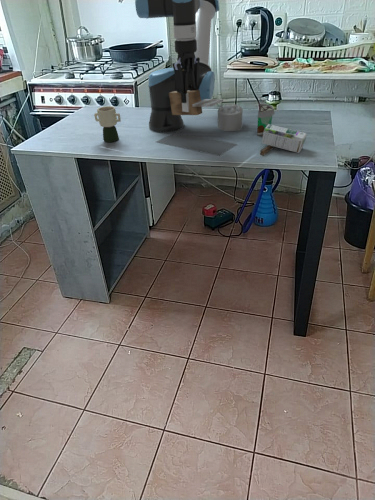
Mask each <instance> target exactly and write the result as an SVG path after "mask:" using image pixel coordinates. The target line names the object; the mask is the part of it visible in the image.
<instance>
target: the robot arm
mask: <svg viewBox="0 0 375 500" xmlns="http://www.w3.org/2000/svg"><path fill="white" fill-rule="evenodd" d="M134 1H135V2H134V4H135V6H134V7H135V12H136V15H137V16H138V18H140V19H146V20H147V19H156V18H172V19H173V38H174V39H175V40H174V52H175V53H176V54H177V59H176V60H177V61H176V62H174V63H172V67H167V68H161V69H157V70H155V71H152V72H150V74H149V75H148V90H149V91H148V92H149V99H150V100H149V101H150V108H151V109H150V111H151V112H150V117H149V122H148V128H149V130H150V131H152V132H155V133H174V132H177V131H180V130H181V129H183V128H184V125H185V124H184V120H183V117H182V115H172V110H171V104H170V97H169V93H170V92H173V91H177V92H178V93H181V102H182V111H183V112H189V93H187V91H192V90H200V97H201V100H204V99H213V95H214V91H215V80H216V78H215V77H216V74H215V72H214V71H212V67H211V66H210V65H209V59H210V46H211V45H210V44H211V43H210V42H211V30H212V20H213V19H214V18H215V17H216V16H215V15H216V13H217V12H219V11H220V2H219V1H220V0H134Z"/></svg>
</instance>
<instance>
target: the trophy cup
mask: <svg viewBox="0 0 375 500" xmlns="http://www.w3.org/2000/svg"><path fill="white" fill-rule="evenodd" d="M93 115H94V120H95V122H98V123H99V125H100V127H101V128H102V137H103V138H102V140H103V141H104V142H105V143H113V142H116V141H118V140H119V139H120V137H119V133H118V131H117V127H116V125H118V123H120V122H121V121H122V120H121V114H120V113H118V112H117V110H116V107H115V106H113V105H112V106H111V105H109V106H108V105H107V106H101V107H98V108H96V112H94V113H93Z"/></svg>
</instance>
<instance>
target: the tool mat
mask: <svg viewBox="0 0 375 500" xmlns="http://www.w3.org/2000/svg"><path fill="white" fill-rule="evenodd" d="M155 143H157V144H163V145H167V146H172V147H176V148H181V149H187V150H190V151H191V150H192V151H196V152H200V153H205V154H210V155H214V156H221V155H224V153H226V152H228V151H229V150H231V149H232V148H234V147H236V146H238V144H237V143H233V142H227V141H223V140H218V139H213V138H207V137H202V136H196V135H191V134H186V133H182V132H181V133H180V132H177V131H173V132H171V134H169V135H167V136H165V137H163V138H161V139H158V140H156V141H155Z"/></svg>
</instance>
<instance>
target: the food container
mask: <svg viewBox="0 0 375 500" xmlns="http://www.w3.org/2000/svg"><path fill="white" fill-rule="evenodd" d="M274 115H275V109H274V106H272V105H270V104H265V103H259V109H258V112H257V128H256V129H257V130H256V137H258V136H260V137H261V136H263V132H264V129H265V128H266V127H267V125H268V124H270V125H272V120H273V116H274Z"/></svg>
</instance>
